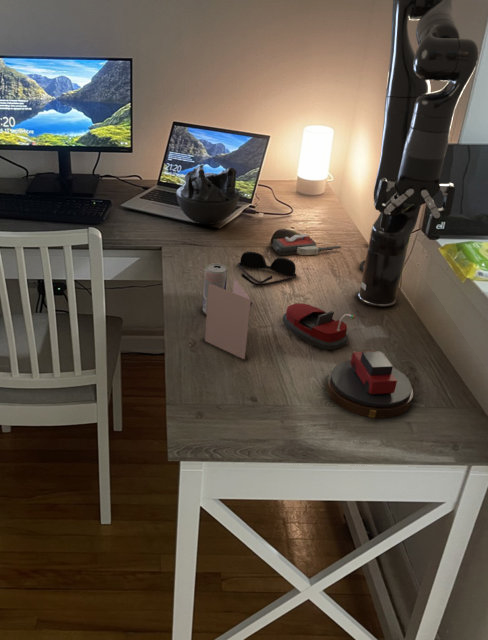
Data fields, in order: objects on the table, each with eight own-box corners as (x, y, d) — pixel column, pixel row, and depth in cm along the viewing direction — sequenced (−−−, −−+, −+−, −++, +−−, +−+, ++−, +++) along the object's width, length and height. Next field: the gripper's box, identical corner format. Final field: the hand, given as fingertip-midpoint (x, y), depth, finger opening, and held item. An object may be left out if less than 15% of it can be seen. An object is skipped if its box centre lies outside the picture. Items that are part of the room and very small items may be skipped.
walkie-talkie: (279, 259, 198) (341, 253, 202) (281, 245, 196) (344, 239, 200) (267, 247, 205) (327, 241, 210) (269, 234, 203) (329, 228, 207)
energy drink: (225, 307, 172) (229, 264, 166) (221, 317, 168) (225, 273, 161) (204, 305, 173) (207, 261, 167) (200, 314, 169) (203, 270, 163)
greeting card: (248, 359, 152) (254, 299, 144) (216, 362, 150) (221, 302, 143) (232, 333, 161) (237, 276, 153) (202, 336, 160) (206, 278, 152)
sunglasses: (222, 284, 183) (224, 267, 181) (239, 264, 195) (241, 248, 192) (283, 297, 177) (286, 280, 175) (297, 275, 189) (299, 259, 186)
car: (424, 404, 134) (432, 378, 131) (346, 409, 133) (352, 382, 129) (391, 360, 148) (397, 335, 144) (320, 364, 146) (324, 338, 143)
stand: (325, 365, 150) (326, 358, 149) (405, 375, 147) (407, 367, 146) (327, 412, 135) (329, 404, 134) (416, 424, 132) (419, 416, 131)
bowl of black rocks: (163, 223, 220) (165, 166, 211) (197, 207, 234) (200, 152, 224) (215, 239, 210) (219, 179, 200) (248, 220, 224) (253, 164, 214)
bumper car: (303, 312, 171) (308, 276, 165) (363, 348, 156) (371, 310, 151) (273, 322, 166) (278, 285, 161) (332, 360, 152) (340, 321, 147)
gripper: (387, 154, 127) (371, 235, 136) (467, 160, 125) (446, 242, 133) (383, 144, 133) (368, 222, 142) (460, 149, 131) (440, 228, 140)
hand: (406, 232), depth 138 cm, fingers open, 8 cm apart
